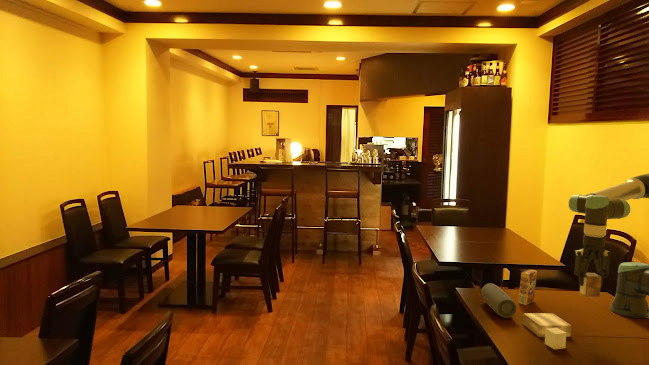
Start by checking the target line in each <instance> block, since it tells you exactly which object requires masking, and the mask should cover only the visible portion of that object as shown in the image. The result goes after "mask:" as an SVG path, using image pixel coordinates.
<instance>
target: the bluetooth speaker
mask: <svg viewBox="0 0 649 365" xmlns="http://www.w3.org/2000/svg"><path fill="white" fill-rule="evenodd" d="M480 292H481V295H482V297H483V299H484V301H485V302H486V303H487V305H488V306H489V307H490V308H491V310H492V309H493V310H492V311H493V312H494V313H495V314H496V315H497V316H500V317H502V318H505V319H506V318H507V319H509V318H512V317H513V316H515V315H516V313H517V309H518V308H517V305H516V302H515V301H514V300H513V298H511V296H510V295H509V294H508V293H506V292H505V291H504V290H503V289H502V288H501V287H499V286H498V285H496V284H495V283H492V282H490V283H486V284H485V285H483V287H482V288H481V290H480Z"/></svg>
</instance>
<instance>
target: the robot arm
mask: <svg viewBox="0 0 649 365" xmlns="http://www.w3.org/2000/svg"><path fill="white" fill-rule="evenodd" d="M640 199H649V173H646V174H641V175H636V176H634V177H630V178H628V179H626V180H625V181H624V182H621V183H619V184H616V185H613V186H609V187H606V188H603V189H600V190H597V191H593V192H590V193H587V194H573V195H571V197H570V198H569V200H568V208H569V210H570V211H572V212H574V213H578V214H583V215H584V224H583V225H584V226H583V233H584V234H583V236H582V237H583V238H582V245H583V246H582V248H580V249H578V250H577V249H574V254H575V258H574V260H575V261H574V269H573V270H574V271H573V274H574V275H575V276H577V277H578V285H579V293H580V294H581V295H584V296H585V294H586V282H587V278H585V275H586V273H588V269H589V266H590V263H591V262H592V260H593V261H594V265H595V270H596V274H597V275H599V276H601V287H602V286H603V285H604V284H603V283H604V280H605V279H606V278H608V277H609V276H610V264H611V263H610V262H611V256H612V254H613V253H612V251H609V250H606V249H605V246H606V236H607V227H608V226H607V224H608V223H607V222H608V220H616V219H617V220H621V219H625V218H627V217H628V216H629V215H630V213H631V205H630V203H629V202H628V201H629V200H640ZM647 296H648V297H649V264H648V263H643V262H635V261H634V262H629V261H628V262H622V263H619V265H618V270H617V280H616V292H615V296H614V298H613V299H612V302H611V303H610V311H612V312H613V313H615V314H617V315H620V316H624V317H627V318H628V317H629V318H633V319H634V318H635V319H646V318H647V319H648V318H649V304H648V300H647Z"/></svg>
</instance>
